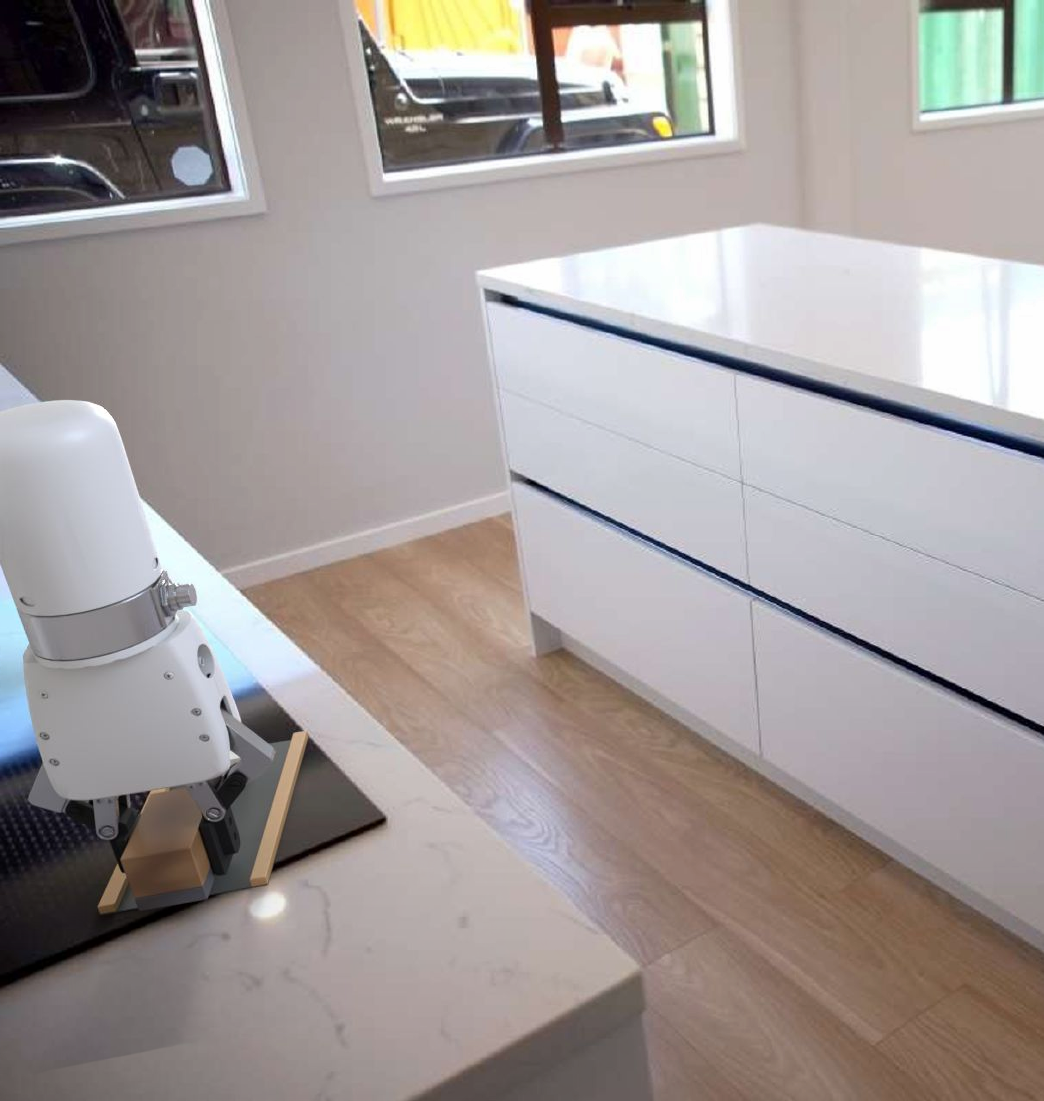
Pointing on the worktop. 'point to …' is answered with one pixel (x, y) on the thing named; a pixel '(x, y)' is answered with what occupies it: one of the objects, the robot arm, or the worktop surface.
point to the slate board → (241, 828)
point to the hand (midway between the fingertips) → (185, 866)
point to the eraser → (168, 853)
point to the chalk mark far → (233, 758)
